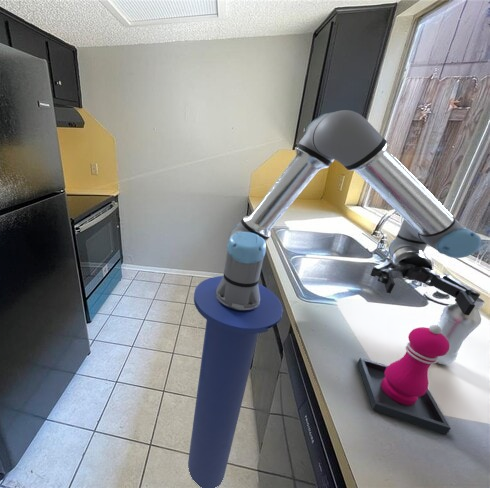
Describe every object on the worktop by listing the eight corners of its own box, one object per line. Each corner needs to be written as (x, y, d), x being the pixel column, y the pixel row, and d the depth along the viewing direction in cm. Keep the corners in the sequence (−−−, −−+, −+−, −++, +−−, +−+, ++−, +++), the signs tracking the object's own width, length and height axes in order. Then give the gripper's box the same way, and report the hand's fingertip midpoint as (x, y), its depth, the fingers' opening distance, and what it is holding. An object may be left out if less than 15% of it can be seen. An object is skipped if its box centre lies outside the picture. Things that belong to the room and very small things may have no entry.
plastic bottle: (438, 369, 67) (482, 308, 59) (411, 349, 73) (447, 291, 65) (456, 366, 69) (502, 305, 60) (428, 346, 75) (466, 289, 66)
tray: (357, 363, 68) (359, 357, 67) (416, 380, 64) (420, 374, 63) (372, 409, 57) (376, 403, 56) (446, 434, 52) (451, 428, 52)
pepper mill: (395, 377, 64) (432, 313, 56) (426, 405, 57) (473, 337, 49) (370, 381, 63) (404, 315, 55) (399, 410, 56) (443, 341, 48)
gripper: (463, 289, 71) (497, 334, 55) (355, 262, 83) (357, 292, 67) (478, 265, 68) (519, 305, 51) (364, 241, 80) (367, 267, 64)
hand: (427, 298), depth 59 cm, fingers open, 13 cm apart
